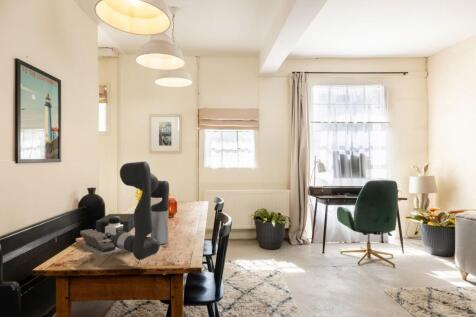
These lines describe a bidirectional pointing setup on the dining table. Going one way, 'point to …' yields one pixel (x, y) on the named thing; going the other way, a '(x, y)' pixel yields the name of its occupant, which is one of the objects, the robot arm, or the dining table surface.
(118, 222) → the medicine bottle
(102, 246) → the tile
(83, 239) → the tile
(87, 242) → the tile
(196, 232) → the dining table surface
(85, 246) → the felt strip
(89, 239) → the tile
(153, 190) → the robot arm
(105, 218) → the cash box
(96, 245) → the tile
